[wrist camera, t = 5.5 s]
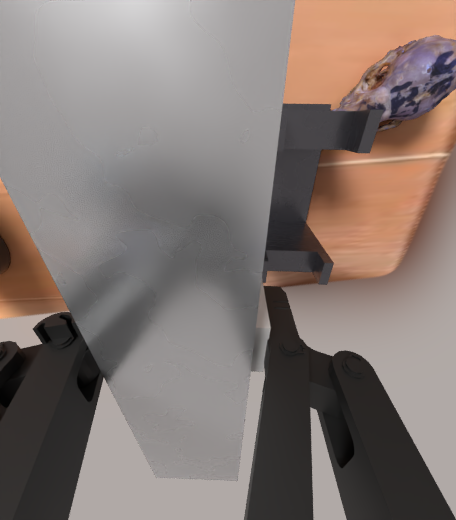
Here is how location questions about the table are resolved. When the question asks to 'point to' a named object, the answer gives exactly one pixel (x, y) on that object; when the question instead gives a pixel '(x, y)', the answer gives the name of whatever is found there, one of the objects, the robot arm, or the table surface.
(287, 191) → the stand
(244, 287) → the whetstone
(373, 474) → the robot arm
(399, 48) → the purple rock
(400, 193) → the table surface
